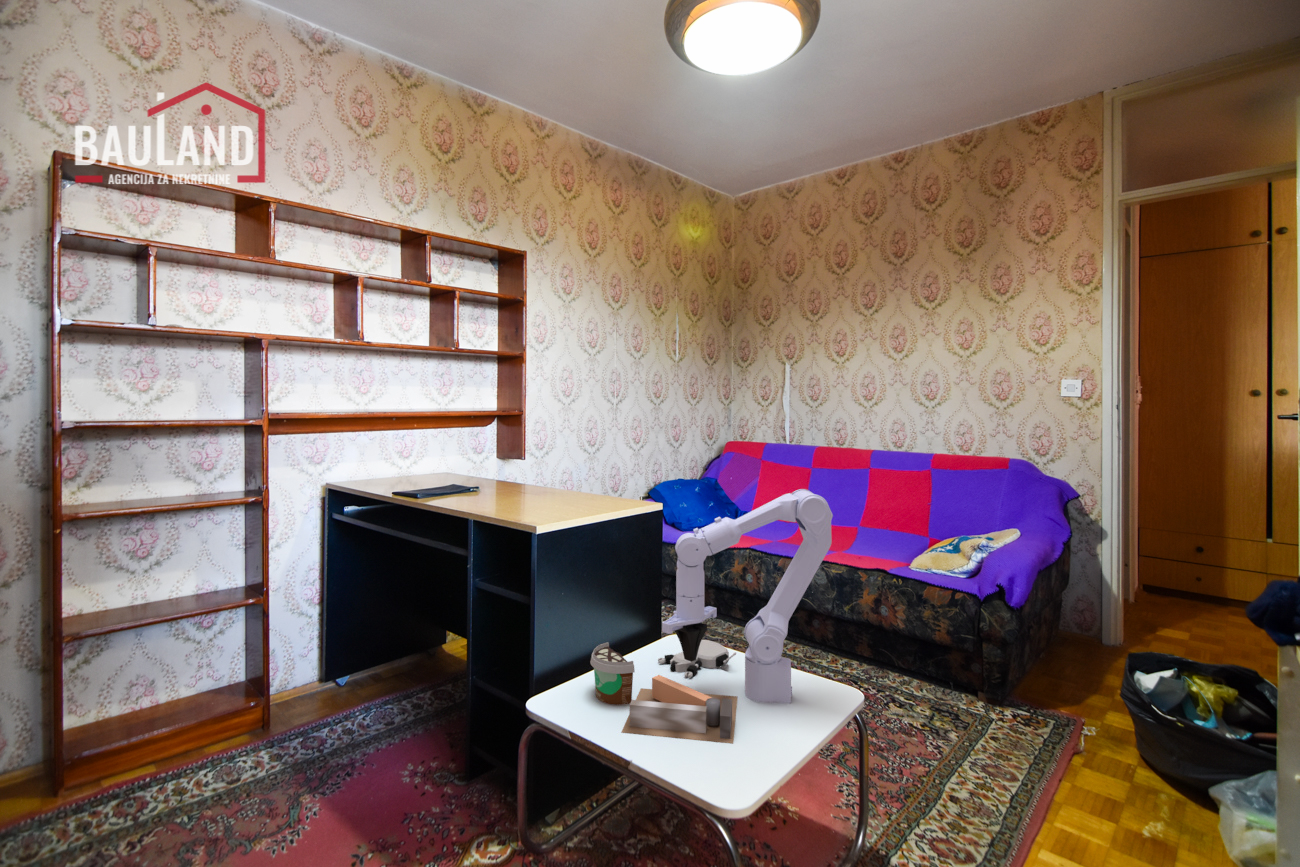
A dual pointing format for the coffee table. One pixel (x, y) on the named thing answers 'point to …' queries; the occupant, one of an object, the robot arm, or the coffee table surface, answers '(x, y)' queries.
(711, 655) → the robot toy
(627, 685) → the food container
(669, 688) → the tong arm
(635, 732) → the tong board
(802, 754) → the coffee table surface
